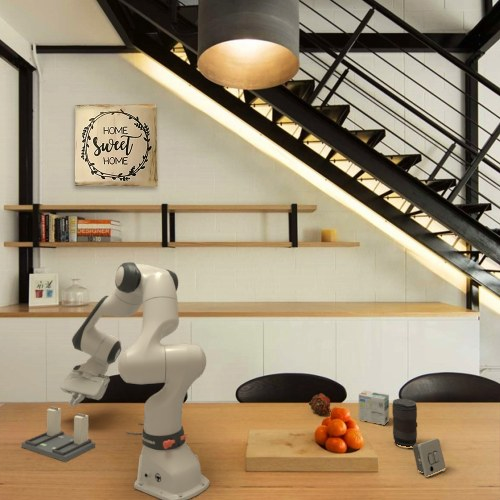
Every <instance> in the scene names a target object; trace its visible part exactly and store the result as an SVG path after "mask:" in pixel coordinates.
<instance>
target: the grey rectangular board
mask: <svg viewBox="0 0 500 500" xmlns="http://www.w3.org/2000/svg"><path fill="white" fill-rule="evenodd" d="M21 448H23V449H25V450H29V451H31V452H34V453H37V454H40V455H42V456H43V455H44V456H46V457H50V458H53V459H55V460H59V461H61V462H64V463H66V462H68V461H70V460H73V459H75V458H76V457H78V456H80V455H82V454H84V453H86V452H89V451H90V450H92V449H94V448H96V443H95V442H94V441H92V439H89V438H88V441H86V442H84V443H82V444H80V445H78V444H75V443H74V435H70V434H67V433H64V431H62V430H61V433H58V434H56V435H54V436H48V435H47V431H46V432H44V433H41V434H38V435H36V436H33V437H31V438H29V439H26V440H24V441H23V442H21Z"/></svg>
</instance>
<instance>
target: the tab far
mask: <svg viewBox="0 0 500 500" xmlns="http://www.w3.org/2000/svg"><path fill="white" fill-rule="evenodd" d="M61 423H62V409H61V408H60V407H56V406H53V405H50V406H49V408H47V409H46V432H47V435H48V436H54V435H56V434H58V433H61V431H62V429H61V427H62V426H61V425H62V424H61Z"/></svg>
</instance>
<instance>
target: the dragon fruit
mask: <svg viewBox="0 0 500 500" xmlns="http://www.w3.org/2000/svg"><path fill="white" fill-rule="evenodd" d="M308 405H309V406H310V409H311V410H312V411H313V412H314V413H317V414H318V415H322V416H323V415H324V414H325V413H327V414H328V413H329V412H330V407H331V400H330V398H329V396H326V395H325V394H323V393H322V392H321V393H319V394H315V395H314V396H313V397H312V399H311V400H310V401H309V402H308Z"/></svg>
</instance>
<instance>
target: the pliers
mask: <svg viewBox="0 0 500 500" xmlns="http://www.w3.org/2000/svg"><path fill="white" fill-rule="evenodd" d="M138 425H140V426H144V423H138ZM125 433H126V434H128V435H134V436H142V433H143V432H131V431H125Z"/></svg>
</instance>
